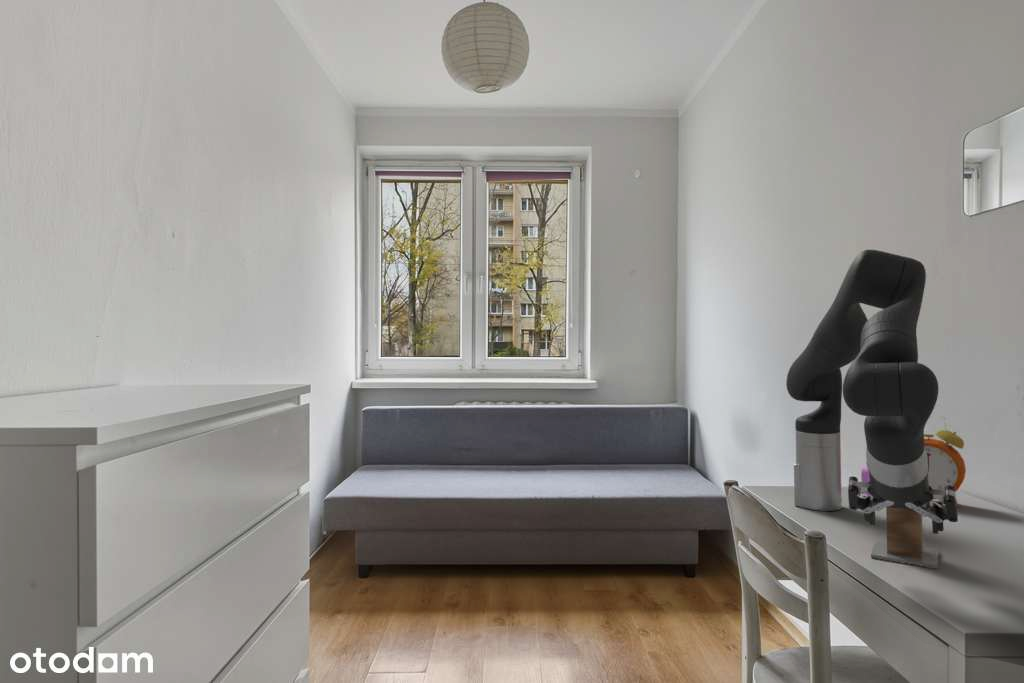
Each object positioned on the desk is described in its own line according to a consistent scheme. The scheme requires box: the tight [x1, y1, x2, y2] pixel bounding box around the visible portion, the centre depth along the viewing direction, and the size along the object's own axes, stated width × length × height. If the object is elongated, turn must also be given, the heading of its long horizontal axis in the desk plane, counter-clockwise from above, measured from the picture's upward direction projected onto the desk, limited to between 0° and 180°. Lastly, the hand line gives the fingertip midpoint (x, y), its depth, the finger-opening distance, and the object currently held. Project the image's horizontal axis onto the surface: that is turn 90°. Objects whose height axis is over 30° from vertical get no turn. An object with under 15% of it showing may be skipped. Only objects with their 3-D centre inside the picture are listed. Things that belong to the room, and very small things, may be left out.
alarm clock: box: [924, 416, 967, 507], centre depth 141 cm, size 13×6×20 cm, turn 50°
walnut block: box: [885, 506, 924, 559], centre depth 107 cm, size 5×5×11 cm
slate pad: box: [870, 539, 939, 570], centre depth 107 cm, size 10×10×1 cm
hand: (903, 524), depth 98 cm, fingers open, 8 cm apart
